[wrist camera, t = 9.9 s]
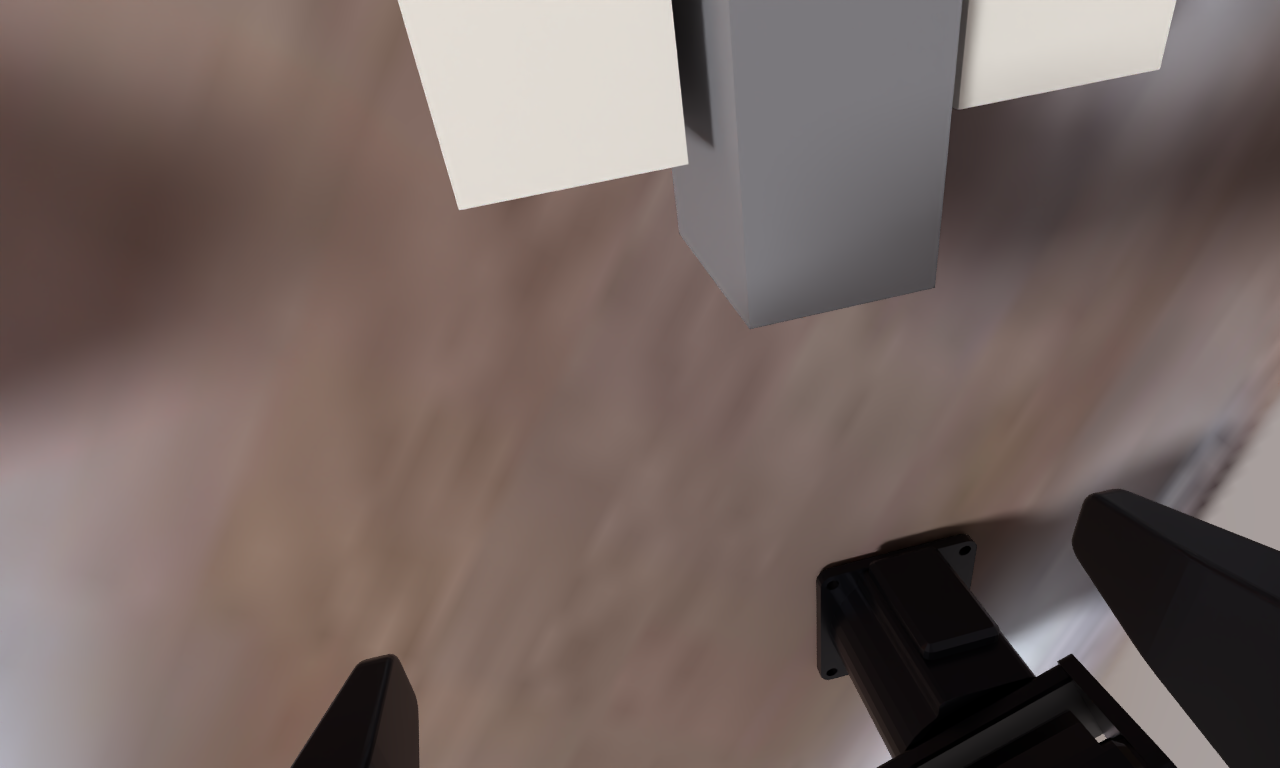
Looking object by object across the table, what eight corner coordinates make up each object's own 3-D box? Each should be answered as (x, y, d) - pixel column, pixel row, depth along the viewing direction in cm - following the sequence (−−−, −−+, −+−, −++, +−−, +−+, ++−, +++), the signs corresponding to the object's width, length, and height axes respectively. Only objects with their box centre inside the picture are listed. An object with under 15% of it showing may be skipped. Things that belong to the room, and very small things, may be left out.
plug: (816, 203, 19) (934, 287, 14) (678, 232, 19) (749, 328, 14) (814, -251, 14) (998, -370, 9) (625, -223, 14) (707, -330, 9)
